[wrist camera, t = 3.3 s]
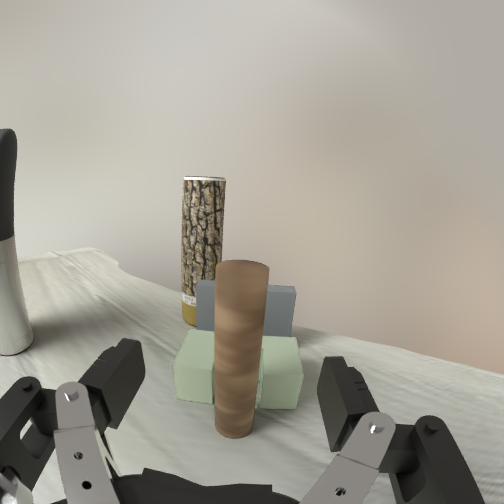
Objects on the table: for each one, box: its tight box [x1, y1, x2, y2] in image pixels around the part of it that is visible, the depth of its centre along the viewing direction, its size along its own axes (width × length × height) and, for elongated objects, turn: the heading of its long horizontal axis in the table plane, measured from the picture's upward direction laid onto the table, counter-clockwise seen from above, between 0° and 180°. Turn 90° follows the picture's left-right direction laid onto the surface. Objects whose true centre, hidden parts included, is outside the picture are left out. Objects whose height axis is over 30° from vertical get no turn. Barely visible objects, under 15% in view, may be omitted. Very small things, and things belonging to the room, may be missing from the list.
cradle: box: [173, 329, 304, 409], centre depth 31 cm, size 14×8×6 cm, turn 89°
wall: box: [196, 279, 296, 337], centre depth 40 cm, size 14×2×10 cm, turn 89°
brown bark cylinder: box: [181, 176, 226, 326], centre depth 45 cm, size 7×7×25 cm
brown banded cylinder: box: [214, 260, 269, 439], centre depth 23 cm, size 4×4×18 cm
